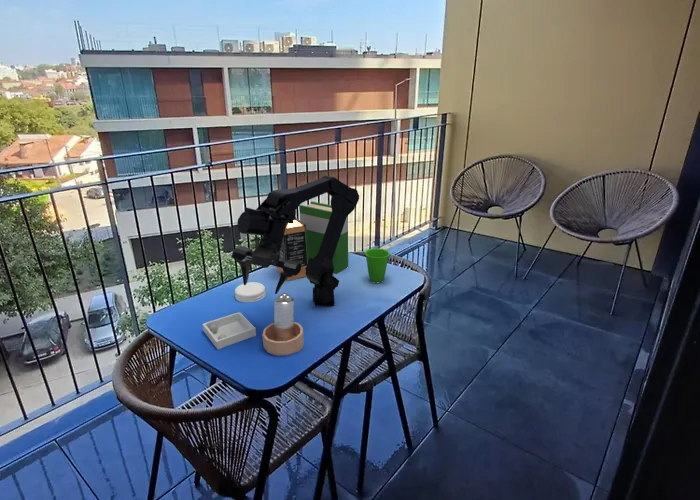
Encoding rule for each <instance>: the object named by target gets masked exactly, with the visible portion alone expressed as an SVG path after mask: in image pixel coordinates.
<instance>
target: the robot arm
mask: <svg viewBox="0 0 700 500" xmlns="http://www.w3.org/2000/svg"><path fill="white" fill-rule="evenodd" d="M324 194H328V195H329V196H330V198H331V199H330V205H331V208H332V213H331V216H330V219H329V222H328V225H327V228H326V231H325V234H324V237H323V240H322V243H321V246H320V249H319V252H318V254H317V255H316V256H315V257H314V258H309V260H308V264H307V267H306V268H305V270H306V277H305V278H306V279H308V281H309V283H310V284H312V285H313V286H314V287H312V303H314V304H313V305H314V307H333V306H335V294H334V293H335V289H336V288H338V286H339V283H340V280H339V279H338V278H337V277H336V276H334V273H333V271H334V266H333V256H334V253H335V250H336V247H337V244H338V241H339V238H340V235H341V232H342V229H343V226H344V224H345V221H346V218H347V216H348V217H349V215H350V214H351V213H353V211H354V210H355V208H356V207H357V204H358V202H359V200H360V194H359V192H358V190H357V189H356V188H353V187H350V186H349V185H348V184H346V183H344V182H342V181H341V180H339V179H338V177H335V176H330V175H324V176H323V175H322V177H320V178H317V179H315V180H313V181H309V182H307V183H305V184H302V185H300V186H296V187H294V188H281V189H275V190H271V191H270V192H268V193H267V197H266V198H265V199H264V200H263V201H262V203H261V204H259V205H258V206H257V208H256V209H255V208H254V209H253V208H251V207H245V208H244V211H243V212H242V213H241V214H240V215H239V217H238V219H237V224H236V226H237V230H238V232H239V233H240V234H241V235H242V234H243V235H244V234H245V235H253V236H261V238H260V240H259V242H258V245H257V246H256V248H255V249H254V250H253V248H249V247H245V246H242V245H241V246H238V247H236V248H233V250H232V253H231V258H232V259H235V262H236V263H238V266H240V269H241V274H242V282H243V283H242V284H244V285H246V284H247V283H248V281H249V276H250V271H251V265H253V266H259V267H261V268H264V269H267V268H270V266H273V267H276V268H277V267H280V268H283V272H282V273H281V274H279V280H278V282H277V284H276V288H275V290H274V291H275V292H274V295H277V294H278V293H279V292H280V289H282V286H283V285H284V283H285V282H286V281H287V280H286V279H287V278H288V277H292V276H293V275H294V276H296V275H297V274H298V273H299V272H300V270H301V264H300V262H296V261H292V260H287V261H286V262H284V261H280V260H279V259H280V249H281V245H282V243H283V237H284V233H285V228H286V224H287V223H291V224H293V223H294V222H293V220H292V219H291V217H290V215H289V214H290V213H291V212H293V211H294V210H296V211H297V209H299V205H302V204H303V203H305V202H308V201H309V200H310V201H311V200H312V199H314V198H316V197H319V196H321V195H324Z"/></svg>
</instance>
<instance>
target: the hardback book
mask: <svg viewBox="0 0 700 500" xmlns="http://www.w3.org/2000/svg"><path fill="white" fill-rule="evenodd" d="M298 211H299V220H300V221H301V222H303V223H304V224H305V225H306V231H305V235H306V249H307V262H308V260H309V258H314V257H315V256H316V255H317V254H318V252H319V249H320V246H321V243H322V240H323V237H324V234H325V231H326V228H327V225H328V222H329V219H330V216H331V213H332V208H331V204H328V203H324V202H316V201H310V203H309V204H306V205H303V204H300V205H299V207H298ZM333 266H334V271H333V274H335V275H338V274H339V273H341V272H343V271H345V270H346V268H347V267H348V268H349V215H348V216H347V218H346V221H345V224H344V226H343V229H342V232H341V235H340V238H339V241H338V244H337V247H336V250H335V253H334V256H333ZM348 268H347V269H348ZM344 269H345V270H344Z"/></svg>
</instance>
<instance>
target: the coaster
mask: <svg viewBox="0 0 700 500" xmlns="http://www.w3.org/2000/svg"><path fill="white" fill-rule="evenodd" d="M234 293H235V294H234V296H235V297H234V299H236V301H238V302H241V303H253V302H258V301H260V300H262V299H265V298H266V287H265V285H264V284H262V283H260V282H257V281H255V282H253V281H251V282H247V284H246V285H244V283H241V284H239V285H238V286H237V287H235V289H234Z"/></svg>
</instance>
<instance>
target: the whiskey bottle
mask: <svg viewBox="0 0 700 500" xmlns="http://www.w3.org/2000/svg"><path fill="white" fill-rule="evenodd" d="M289 215H290V217H291V219H292V220H293V222H294V223H293V224H291V223H287V224H286V228H285V233H284V237H283V243H282V245H281V249H280V259H279V260H280V261H284V262H286V261H287V260H292V261H296V262H300V264H301V270H300V272H299V273H298V274H297V275H296V276H294V275H293V276H292V277H288V278H287V279H286V280H285V281H292V280H296V279H301V278H307V277H306V270H305V268H306V267H307V264H308V262H307V249H306V235H305V231H306V225H305V224H304V223H303V222H301V221H300V218H299V219H298V218H297V209H296V210H294V211H293V212H291V213H290V214H289ZM276 272H277V273H278V274H279V275H280V274H281V273H282V272H283V268H280V267H277V266H276Z"/></svg>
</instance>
